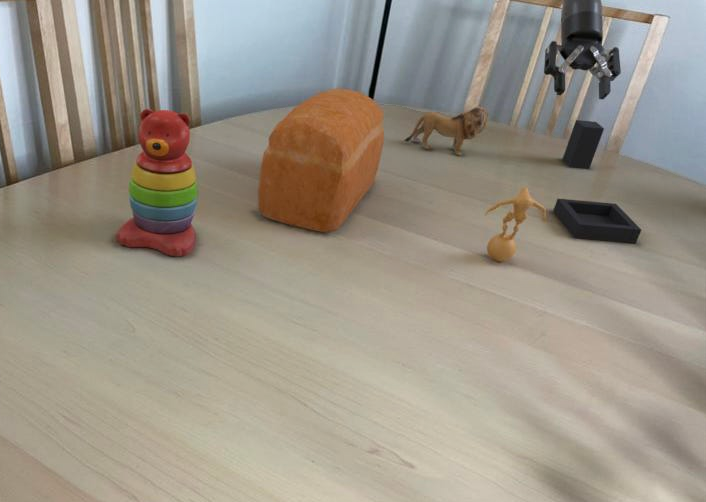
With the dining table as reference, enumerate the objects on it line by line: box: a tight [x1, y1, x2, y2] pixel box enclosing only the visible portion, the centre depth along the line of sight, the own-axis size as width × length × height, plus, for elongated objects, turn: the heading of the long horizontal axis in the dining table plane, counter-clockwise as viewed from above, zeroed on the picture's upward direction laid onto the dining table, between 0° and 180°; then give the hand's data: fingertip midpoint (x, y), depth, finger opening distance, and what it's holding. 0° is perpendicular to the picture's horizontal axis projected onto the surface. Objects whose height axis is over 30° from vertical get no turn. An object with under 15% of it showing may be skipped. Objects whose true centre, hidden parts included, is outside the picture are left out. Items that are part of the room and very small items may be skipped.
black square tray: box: [552, 198, 642, 244], centre depth 121 cm, size 10×10×2 cm
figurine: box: [484, 187, 547, 262], centre depth 105 cm, size 8×6×12 cm
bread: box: [257, 88, 385, 233], centre depth 118 cm, size 14×26×16 cm, turn 157°
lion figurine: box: [403, 106, 490, 156], centre depth 145 cm, size 15×5×9 cm, turn 79°
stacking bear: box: [115, 108, 199, 257], centre depth 101 cm, size 11×10×18 cm
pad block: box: [561, 119, 605, 170], centre depth 144 cm, size 4×4×8 cm
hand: (582, 95), depth 146 cm, fingers open, 8 cm apart
